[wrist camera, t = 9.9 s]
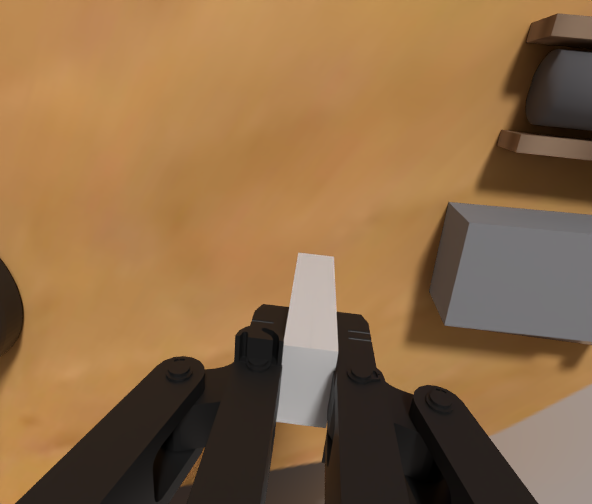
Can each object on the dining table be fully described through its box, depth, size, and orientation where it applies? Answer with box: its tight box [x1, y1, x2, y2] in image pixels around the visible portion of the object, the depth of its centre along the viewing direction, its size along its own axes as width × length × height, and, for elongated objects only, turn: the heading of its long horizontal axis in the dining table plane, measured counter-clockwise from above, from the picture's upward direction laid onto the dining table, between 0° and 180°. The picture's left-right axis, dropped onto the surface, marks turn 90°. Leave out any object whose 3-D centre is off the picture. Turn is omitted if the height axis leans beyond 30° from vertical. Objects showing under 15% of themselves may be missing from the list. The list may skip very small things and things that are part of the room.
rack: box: [470, 14, 592, 345], centre depth 24 cm, size 11×19×4 cm, turn 174°
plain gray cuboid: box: [429, 202, 592, 342], centre depth 26 cm, size 10×7×5 cm
